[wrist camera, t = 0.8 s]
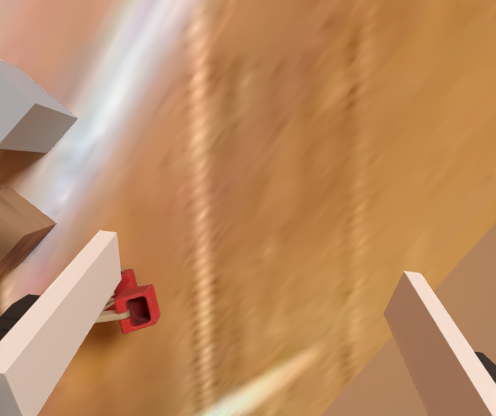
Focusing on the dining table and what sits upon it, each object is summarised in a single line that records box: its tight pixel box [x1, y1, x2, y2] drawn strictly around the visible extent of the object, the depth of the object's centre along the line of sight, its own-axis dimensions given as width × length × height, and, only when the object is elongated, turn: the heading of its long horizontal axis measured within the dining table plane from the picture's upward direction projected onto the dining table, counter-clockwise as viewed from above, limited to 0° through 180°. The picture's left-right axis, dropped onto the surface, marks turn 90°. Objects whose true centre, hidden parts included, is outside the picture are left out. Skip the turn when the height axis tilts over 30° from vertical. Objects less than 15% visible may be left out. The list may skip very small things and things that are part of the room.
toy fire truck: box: [39, 269, 160, 334], centre depth 31 cm, size 3×14×10 cm, turn 102°
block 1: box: [0, 60, 78, 153], centre depth 28 cm, size 5×7×8 cm
